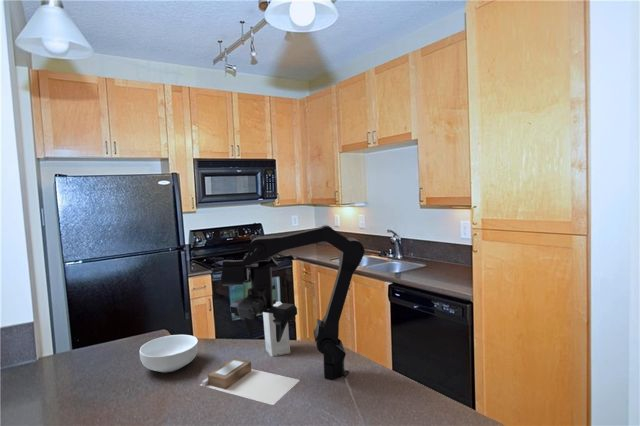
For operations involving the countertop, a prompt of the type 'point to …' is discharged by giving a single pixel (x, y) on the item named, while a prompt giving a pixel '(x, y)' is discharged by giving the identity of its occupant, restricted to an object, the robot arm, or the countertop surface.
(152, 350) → the cereal bowl
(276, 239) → the robot arm
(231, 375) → the frame
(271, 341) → the skincare box
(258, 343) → the countertop surface
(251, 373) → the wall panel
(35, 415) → the countertop surface
